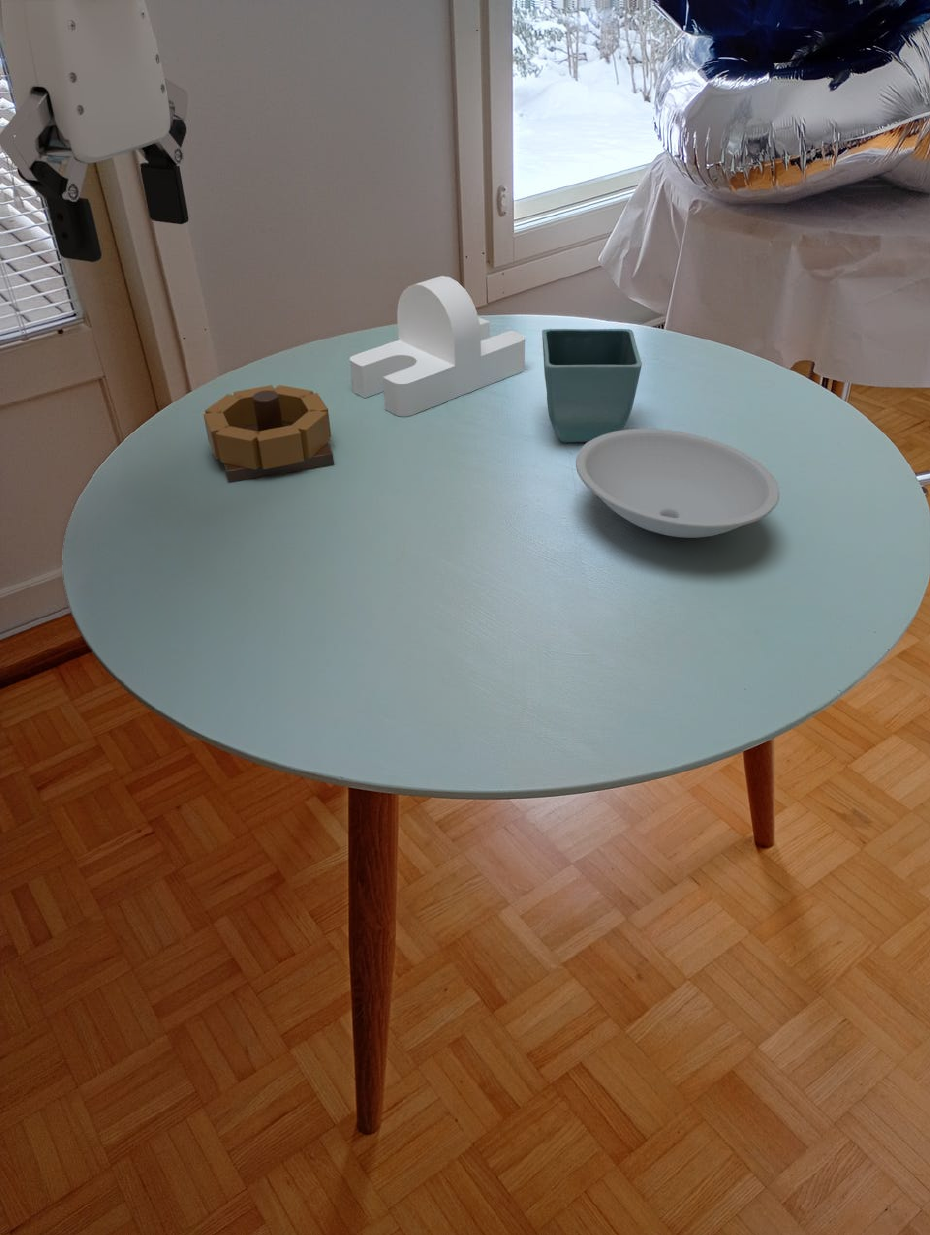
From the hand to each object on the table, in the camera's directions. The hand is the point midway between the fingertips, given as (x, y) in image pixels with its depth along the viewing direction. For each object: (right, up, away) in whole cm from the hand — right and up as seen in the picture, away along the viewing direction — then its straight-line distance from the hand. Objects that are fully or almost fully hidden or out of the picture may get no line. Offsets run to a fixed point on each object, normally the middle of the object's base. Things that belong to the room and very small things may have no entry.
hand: (127, 239), depth 71 cm
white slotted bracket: (+22, -1, +37) cm, 43 cm away
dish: (+42, -20, +13) cm, 48 cm away
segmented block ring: (+5, -10, +24) cm, 27 cm away
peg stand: (+6, -11, +25) cm, 28 cm away
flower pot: (+36, -9, +27) cm, 46 cm away
